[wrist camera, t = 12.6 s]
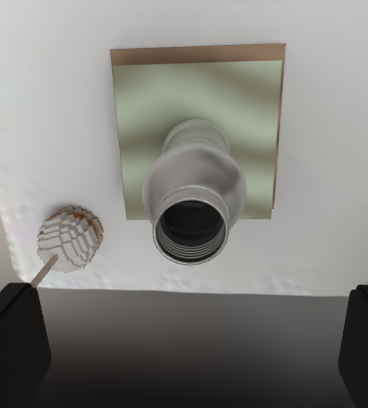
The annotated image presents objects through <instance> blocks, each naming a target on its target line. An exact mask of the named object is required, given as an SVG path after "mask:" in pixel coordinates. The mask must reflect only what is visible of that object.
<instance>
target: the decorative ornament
mask: <svg viewBox="0 0 368 408" xmlns="http://www.w3.org/2000/svg"><path fill="white" fill-rule="evenodd" d="M43 224H44V225H42V226H41V227H40V228H39V230H40V231H39V233H40V234H39V235H38V236H37V237H38V239H39V240H38V241H37V243H38V244H37V245H38V246H39V249H38V250H37V251H38V255H39V257H40V259H41V260H43V262H44V264H46V265H45V266H44V267H43V268H42V270H41V271H40V272H39V273H38V274H37V276H36V277H35V278H34V279H33V280H32V282H31V283H30V284H31V285H32V287H33V288H36V287H37V285H38V284H39V283H40V282H41V280H42V279H43V278H44V277H45V275H46V274H47V273H48V271H49V270H50V269H52V270H55V271H60V270H61V272H63V271H64V272H65V273H67V272H71V271H75V270H79V269H82V268H84V267H85V266H86V264H87V263H90V261H91V260H92V258H93V256H94V255H95V252H96V249H98V248H99V246H98V245H100V244H101V242H100V241H102V240H103V238H102V236H101V233H103V229H102V227H101V225H100V222H99V220H98V218H95V219H94V218H93V216H92V214H91V212H89V213H87V211H86V210H83V211H82V209H81V207H80V208H76V209H73V207H72V206H70V207H67V208H64V209H60V210H58V211H57V215H54V216H51V217H50V218H48V219H46V220H45V221H43Z"/></svg>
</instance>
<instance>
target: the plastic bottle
mask: <svg viewBox="0 0 368 408" xmlns="http://www.w3.org/2000/svg"><path fill="white" fill-rule="evenodd" d="M230 152H231V149H230V143H229V140H228V137H227V136H226V134H225V132H224V131H223V130H222V129H221V128H220V127H219V126H218V125H216V124H215V123H213V122H211V121H209V120H205V119H190V120H186V121H184V122H181V123H179V124H178V125H176V126H175V127H174V128H173V129H172V130H171V131H170V132H169V133H168V134H167V136H166V137H165V140H164V142H163V145H162V150H161V156H160V157H159V158H158V159H157V160H156V161H155V162H154V163H153V165H152V166H151V167H150V169H149V170H148V172H147V175H146V177H145V179H144V183H143V188H142V200H143V205H144V209H145V211H146V214H147V216H148V218H149V220H150V222H151V223H152V225H153V238H154V242H155V245H156V247H157V249H158V250H159V251H160V253H161V254H162V255H163V256H165V257H166V258H167V259H169V260H170V261H172V262H175V263H177V264H182V265H198V264H202V263H205V262H207V261H209V260H211V259H213V258H214V257H215V256H217V255H218V254H219V253H220V252H221V250H222V249H223V248H224V246H225V244H226V242H227V239H228V235H229V230H230V229H231V228H232V226H233V225H234V224H235V223H236V221H237V220H238V218H239V216H240V214H241V212H242V210H243V208H244V205H245V202H246V195H247V187H246V180H245V177H244V174H243V171H242V169H241V168H240V166H239V164H238V163H237V162H236V160H235V159H234V158H233V157H232V156H231V155H230Z"/></svg>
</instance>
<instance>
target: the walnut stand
mask: <svg viewBox="0 0 368 408" xmlns="http://www.w3.org/2000/svg"><path fill="white" fill-rule="evenodd" d="M285 46H286V43H283V44H254V45H225V46H196V47H167V48H138V49H110V51H111V62H112V72H113V83H114V93H115V104H116V114H117V125H118V135H119V146H120V156H121V166H122V177H123V187H124V198H125V208H126V218H127V220H149V218H148V216H147V214H146V211H145V209H144V205H143V200H142V188H143V183H144V179H145V177H146V175H147V172H148V170H149V169H150V167H151V166H152V165H153V163H154V162H155V161H156V160H157V159H158V158H159V157H160V156H161V150H162V145H163V142H164V140H165V137H166V136H167V134H168V133H169V132H170V131H171V130H172V129H173V128H174V127H175V126H176V125H178V124H179V123H181V122H184V121H186V120H190V119H205V120H209V121H211V122H213V123H215V124H216V125H218V126H219V127H220V128H221V129H222V130H223V131H224V132H225V134H226V136H227V137H228V140H229V143H230V149H231V152H230V155H231V156H232V157H233V158H234V159H235V160H236V162H237V163H238V164H239V166H240V168H241V169H242V171H243V174H244V177H245V180H246V187H247V195H246V202H245V205H244V208H243V210H242V212H241V214H240V216H239V218H238V219H271V211H272V209H274V199H275V185H276V171H277V157H278V144H279V130H280V116H281V102H282V88H283V74H284V60H285Z"/></svg>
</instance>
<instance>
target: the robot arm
mask: <svg viewBox="0 0 368 408" xmlns="http://www.w3.org/2000/svg"><path fill="white" fill-rule="evenodd" d="M50 365H51V351H50V347H49V342H48V337H47V333H46V328H45V323H44V319H43V314H42V310H41V305H40V300H39V296H38V291H37V289H36V288H33V287H32V285H31V284H30V283H9V284H8V285H7V286H5V287H4V288H3V289H2V291H1V292H0V408H29V406H30V404H31V403H32V401H33V399H34V397H35V395H36V393H37V391H38V389H39V387H40V385H41V383H42V382H43V380H44V378H45V376H46V374H47V372H48V370H49V368H50ZM338 367H339V372H340V375H341V377H342V379H343V381H344V383H345V385H346V388H347V390H348V392H349V394H350V396H351V399H352V401H353V403H354V405H355V407H356V408H368V285H358V286H357V287H356V290H351V292H350V295H349V302H348V308H347V313H346V319H345V324H344V330H343V336H342V342H341V348H340V354H339V359H338Z"/></svg>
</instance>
